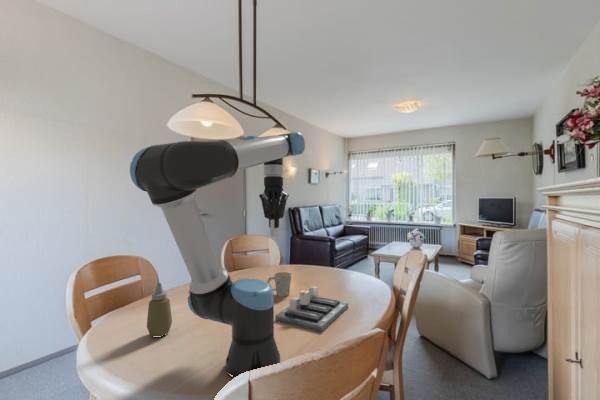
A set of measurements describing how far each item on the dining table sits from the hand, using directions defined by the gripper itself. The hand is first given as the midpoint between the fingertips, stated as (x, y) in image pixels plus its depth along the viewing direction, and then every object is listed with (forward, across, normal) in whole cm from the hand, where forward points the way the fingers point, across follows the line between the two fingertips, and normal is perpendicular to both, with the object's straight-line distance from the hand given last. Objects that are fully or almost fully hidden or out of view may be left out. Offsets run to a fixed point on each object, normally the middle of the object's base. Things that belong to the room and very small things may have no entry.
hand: (274, 236), depth 115 cm
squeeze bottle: (+33, +27, +31) cm, 53 cm away
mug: (+33, +15, -24) cm, 43 cm away
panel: (+32, -12, -11) cm, 36 cm away
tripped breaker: (+29, -7, -11) cm, 32 cm away
